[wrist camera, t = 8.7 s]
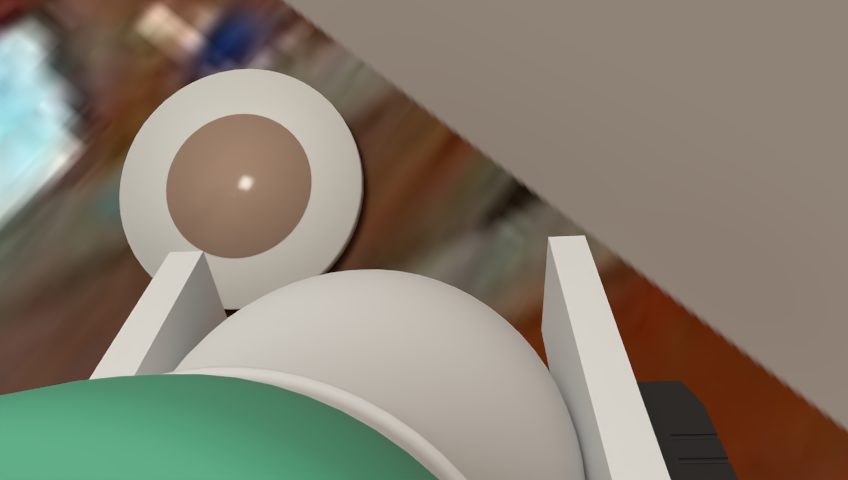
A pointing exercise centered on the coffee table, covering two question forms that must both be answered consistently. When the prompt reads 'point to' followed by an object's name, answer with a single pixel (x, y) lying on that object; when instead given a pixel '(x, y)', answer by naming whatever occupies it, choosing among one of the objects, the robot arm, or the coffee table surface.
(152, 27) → the coffee table surface
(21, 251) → the coffee table surface
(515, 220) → the coffee table surface
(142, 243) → the trivet
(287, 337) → the milk bottle
